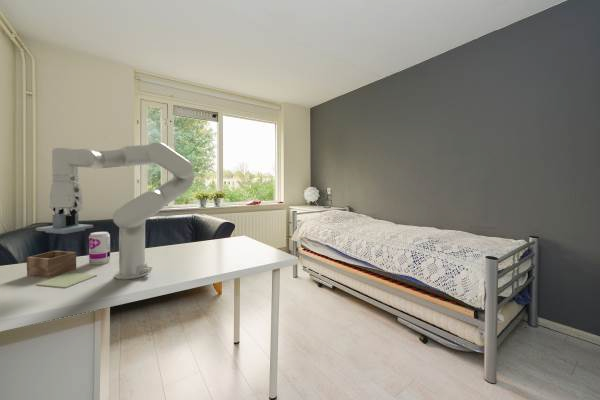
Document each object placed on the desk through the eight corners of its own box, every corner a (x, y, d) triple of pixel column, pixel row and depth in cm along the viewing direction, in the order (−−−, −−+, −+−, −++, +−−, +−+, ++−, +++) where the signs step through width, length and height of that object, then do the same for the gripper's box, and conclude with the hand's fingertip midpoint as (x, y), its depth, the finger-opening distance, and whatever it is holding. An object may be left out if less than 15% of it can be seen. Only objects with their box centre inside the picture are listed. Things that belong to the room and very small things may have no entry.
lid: (93, 229, 107) (93, 213, 107) (63, 235, 96) (63, 216, 95) (68, 227, 109) (67, 211, 108) (35, 233, 97) (35, 214, 96)
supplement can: (98, 266, 121) (98, 235, 120) (84, 264, 123) (84, 233, 122) (114, 261, 129) (113, 232, 128) (101, 259, 131) (100, 231, 130)
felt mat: (96, 275, 109) (96, 275, 109) (65, 288, 96) (65, 287, 96) (70, 273, 111) (70, 272, 111) (35, 285, 98) (35, 284, 98)
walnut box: (76, 269, 116) (76, 252, 115) (50, 278, 105) (49, 259, 105) (55, 267, 117) (54, 250, 117) (27, 276, 106) (26, 257, 106)
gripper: (92, 180, 104) (93, 224, 105) (57, 178, 106) (57, 222, 107) (74, 180, 96) (75, 227, 97) (36, 178, 98) (37, 225, 99)
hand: (66, 224), depth 102 cm, fingers closed on lid, 3 cm apart
